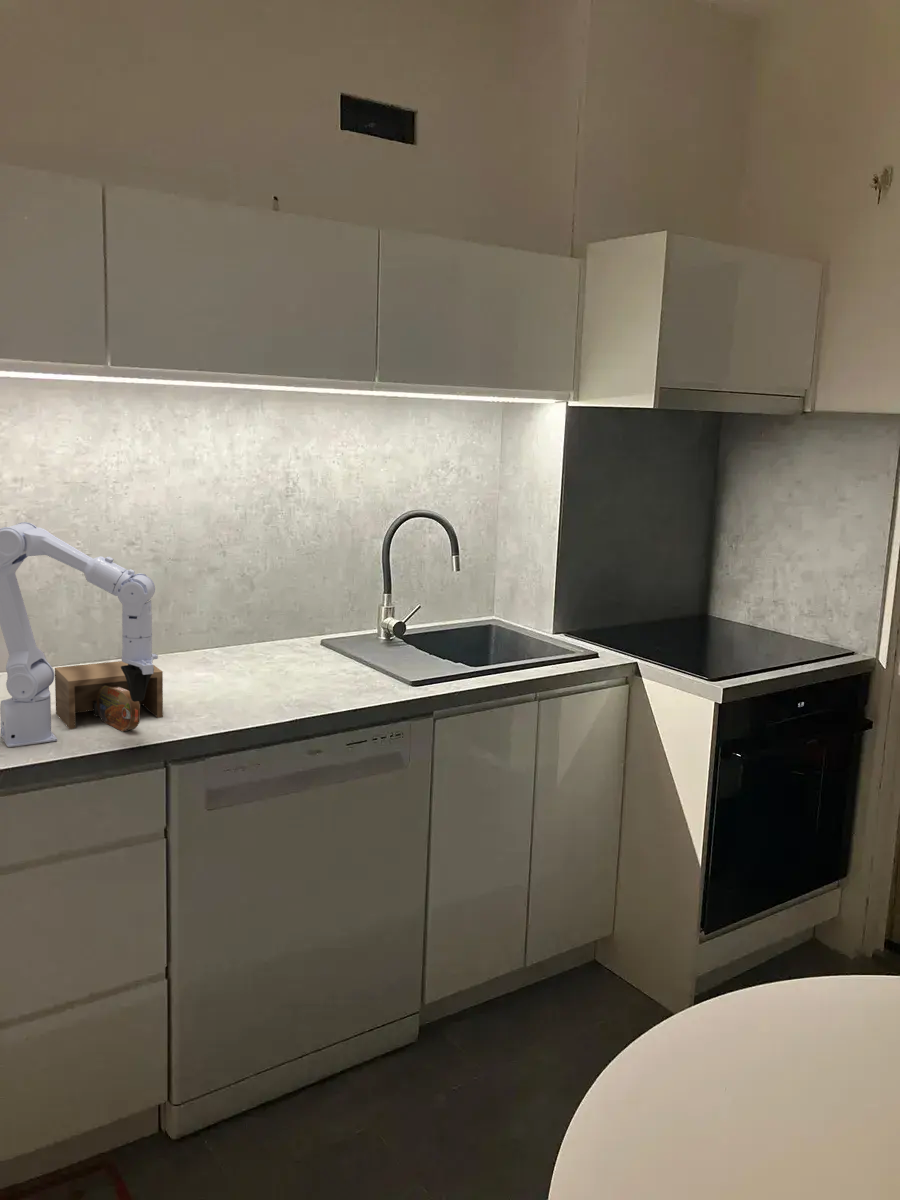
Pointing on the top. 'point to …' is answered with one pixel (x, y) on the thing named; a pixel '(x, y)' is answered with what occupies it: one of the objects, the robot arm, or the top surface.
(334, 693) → the top surface
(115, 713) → the tin
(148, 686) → the shelf
